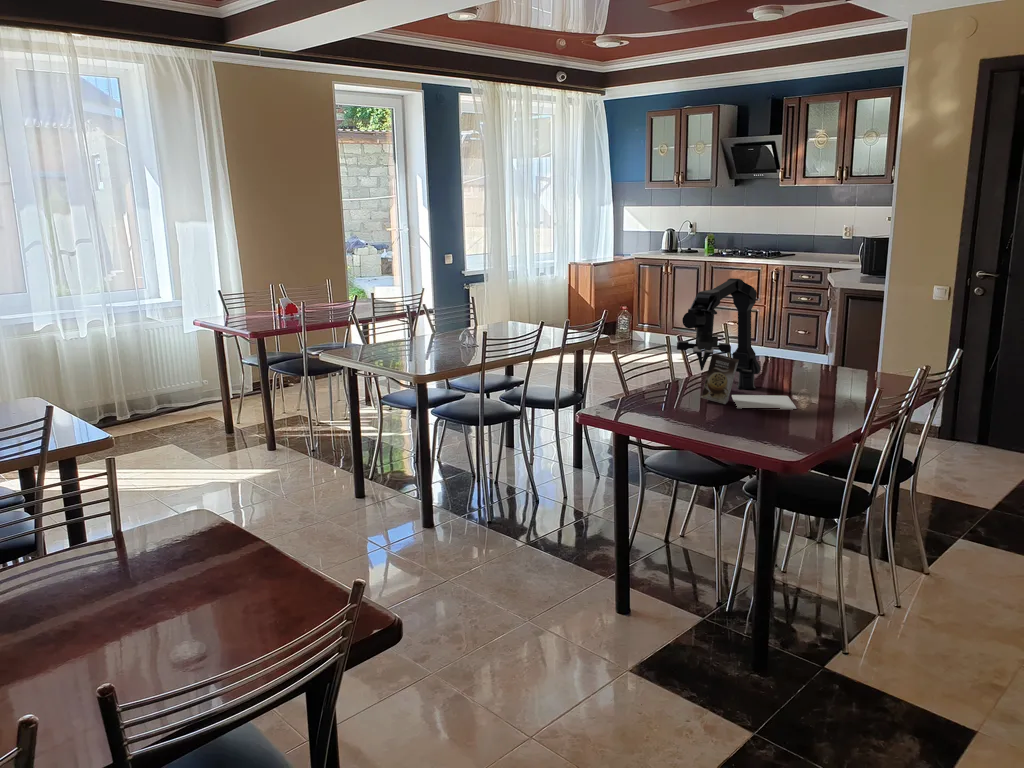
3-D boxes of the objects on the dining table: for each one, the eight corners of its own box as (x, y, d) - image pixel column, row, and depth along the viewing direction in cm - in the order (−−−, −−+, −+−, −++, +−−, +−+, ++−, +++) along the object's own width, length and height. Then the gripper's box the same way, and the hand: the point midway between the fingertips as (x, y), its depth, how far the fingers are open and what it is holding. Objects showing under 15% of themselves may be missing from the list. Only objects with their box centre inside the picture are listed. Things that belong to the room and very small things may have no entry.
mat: (731, 396, 295) (731, 394, 295) (787, 397, 292) (787, 395, 291) (737, 408, 277) (737, 406, 277) (796, 409, 274) (796, 407, 274)
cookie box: (700, 398, 286) (710, 355, 282) (704, 394, 292) (714, 352, 287) (725, 404, 282) (736, 361, 278) (728, 401, 288) (739, 358, 284)
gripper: (678, 328, 276) (675, 372, 278) (734, 330, 273) (730, 375, 275) (678, 325, 287) (675, 367, 289) (731, 327, 283) (727, 370, 286)
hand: (701, 370), depth 285 cm, fingers closed
